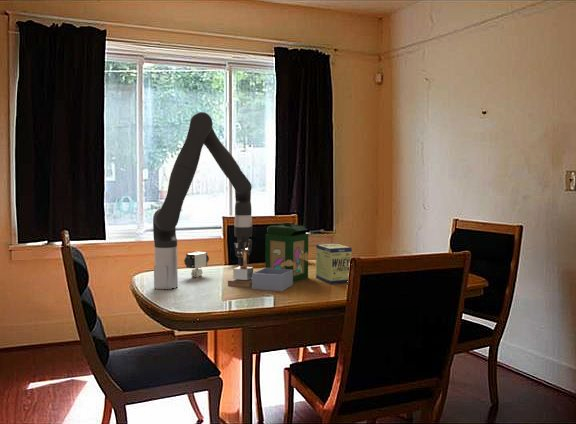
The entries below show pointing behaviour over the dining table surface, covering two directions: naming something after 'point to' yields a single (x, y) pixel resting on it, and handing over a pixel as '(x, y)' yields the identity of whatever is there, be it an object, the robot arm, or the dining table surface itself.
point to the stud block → (240, 282)
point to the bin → (272, 279)
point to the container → (287, 249)
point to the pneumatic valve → (196, 262)
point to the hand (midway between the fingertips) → (243, 264)
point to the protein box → (333, 262)
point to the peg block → (243, 270)
